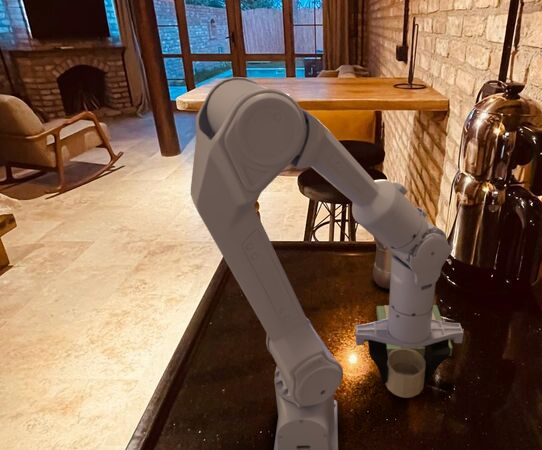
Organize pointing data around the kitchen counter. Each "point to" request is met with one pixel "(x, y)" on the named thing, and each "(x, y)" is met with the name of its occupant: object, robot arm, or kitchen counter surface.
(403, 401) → the kitchen counter surface
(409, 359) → the dip bowl
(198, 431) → the kitchen counter surface
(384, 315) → the scale
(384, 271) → the metal water bottle
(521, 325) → the kitchen counter surface
